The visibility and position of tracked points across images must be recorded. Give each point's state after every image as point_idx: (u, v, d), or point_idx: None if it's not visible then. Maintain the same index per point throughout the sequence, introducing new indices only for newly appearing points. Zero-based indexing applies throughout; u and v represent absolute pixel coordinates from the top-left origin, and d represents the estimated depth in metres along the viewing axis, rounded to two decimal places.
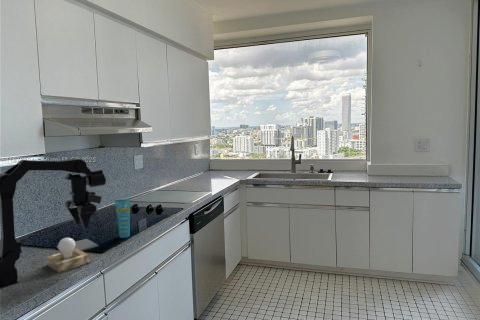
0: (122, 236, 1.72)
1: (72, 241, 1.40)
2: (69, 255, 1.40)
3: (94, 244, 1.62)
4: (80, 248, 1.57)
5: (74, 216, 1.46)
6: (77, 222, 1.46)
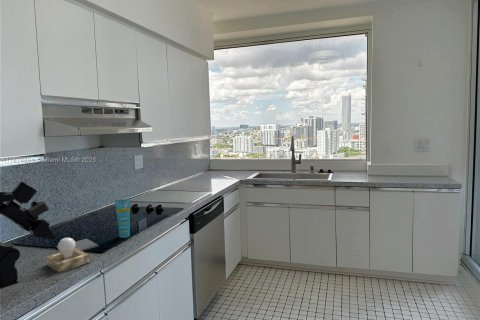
0: (122, 236, 1.72)
1: (72, 241, 1.40)
2: (69, 255, 1.40)
3: (94, 244, 1.62)
4: (80, 248, 1.57)
5: None
6: None
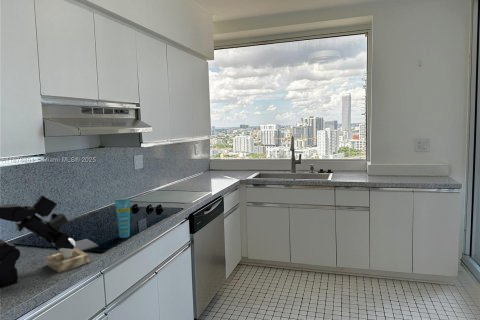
0: (122, 236, 1.72)
1: (72, 241, 1.40)
2: (70, 255, 1.40)
3: (94, 244, 1.62)
4: (80, 248, 1.57)
5: None
6: None
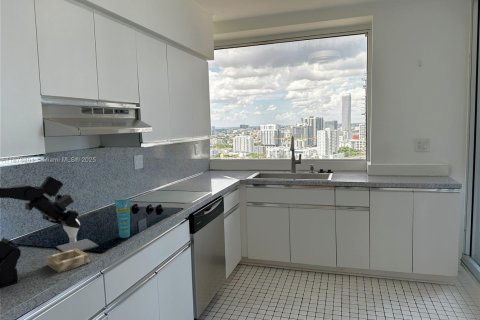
0: (122, 236, 1.72)
1: (77, 221, 1.45)
2: (75, 234, 1.45)
3: (94, 244, 1.62)
4: (80, 248, 1.57)
5: None
6: None
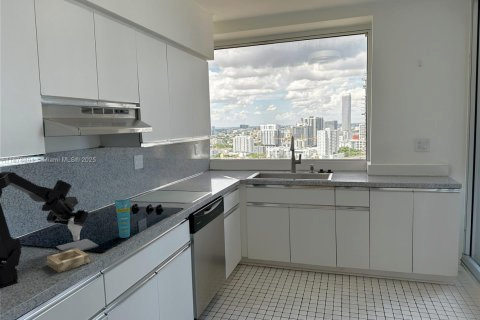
0: (122, 236, 1.72)
1: None
2: (79, 232, 1.60)
3: (94, 244, 1.62)
4: (80, 248, 1.57)
5: (66, 223, 1.59)
6: None
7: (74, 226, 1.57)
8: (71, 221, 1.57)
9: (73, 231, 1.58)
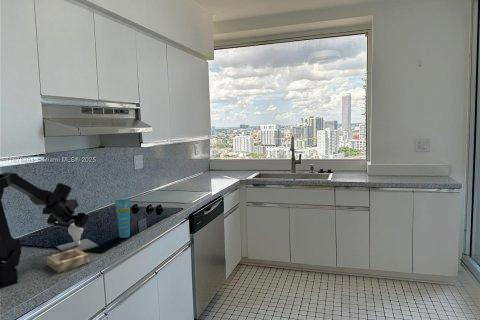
0: (122, 236, 1.72)
1: None
2: None
3: (94, 244, 1.62)
4: (80, 248, 1.57)
5: (64, 225, 1.59)
6: (68, 226, 1.62)
7: (74, 231, 1.57)
8: (71, 226, 1.58)
9: (74, 236, 1.58)
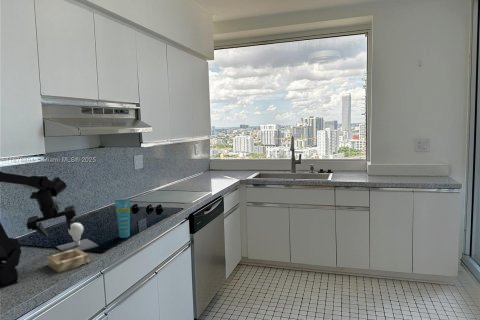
0: (122, 236, 1.72)
1: (81, 225, 1.61)
2: (80, 237, 1.60)
3: (94, 244, 1.62)
4: (80, 248, 1.57)
5: (43, 231, 1.46)
6: (47, 235, 1.48)
7: (75, 231, 1.57)
8: (72, 226, 1.58)
9: (74, 236, 1.58)
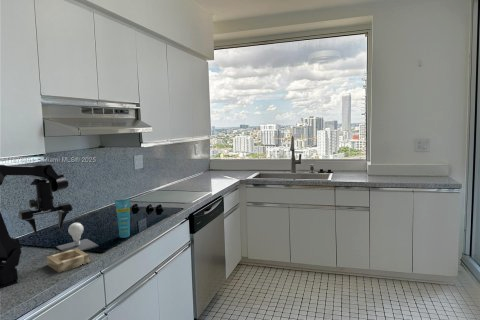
0: (122, 236, 1.72)
1: (81, 225, 1.61)
2: (80, 237, 1.60)
3: (94, 244, 1.62)
4: (80, 248, 1.57)
5: None
6: None
7: (75, 231, 1.57)
8: (72, 226, 1.58)
9: (74, 236, 1.58)
